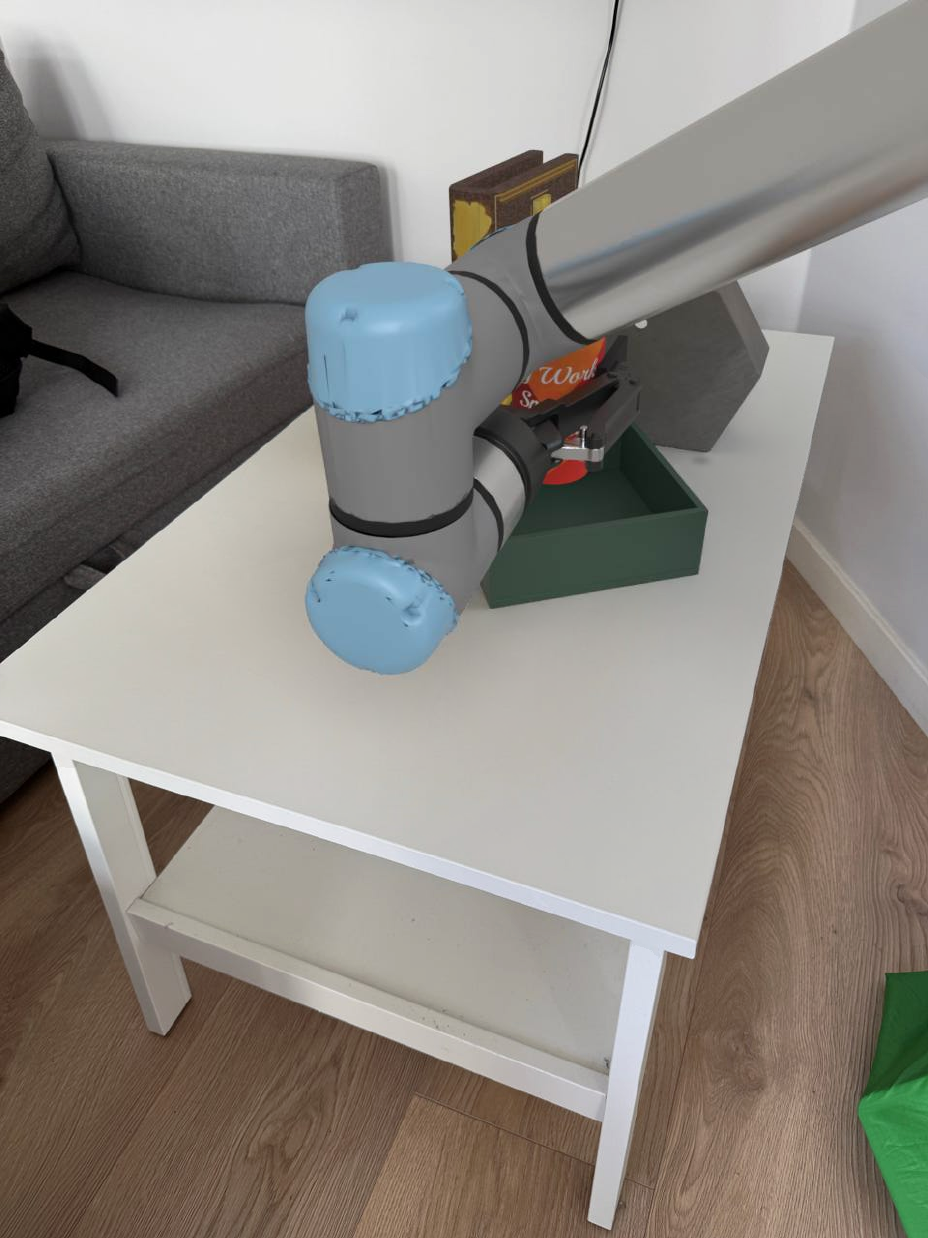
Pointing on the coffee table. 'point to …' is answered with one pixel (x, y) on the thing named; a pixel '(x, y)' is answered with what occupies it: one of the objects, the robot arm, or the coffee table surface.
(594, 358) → the coffee cup
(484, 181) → the book
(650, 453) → the bin
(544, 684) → the coffee table surface
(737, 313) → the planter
